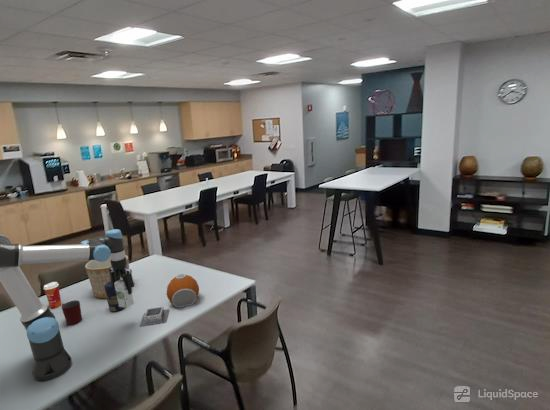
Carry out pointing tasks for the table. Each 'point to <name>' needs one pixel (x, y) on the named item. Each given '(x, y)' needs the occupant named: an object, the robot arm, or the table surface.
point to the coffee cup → (53, 294)
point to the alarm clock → (182, 290)
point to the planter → (100, 275)
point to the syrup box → (122, 294)
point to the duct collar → (154, 316)
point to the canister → (112, 297)
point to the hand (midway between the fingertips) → (125, 298)
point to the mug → (72, 312)
